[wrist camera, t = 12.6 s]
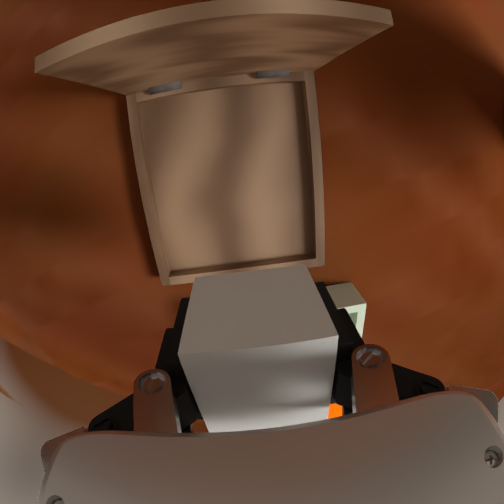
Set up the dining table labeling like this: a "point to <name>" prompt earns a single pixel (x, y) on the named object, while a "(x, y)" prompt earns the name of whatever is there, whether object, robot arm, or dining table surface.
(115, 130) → the dining table surface
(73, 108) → the dining table surface
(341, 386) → the robot arm
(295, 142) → the brown hollow box
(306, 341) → the stone cube
